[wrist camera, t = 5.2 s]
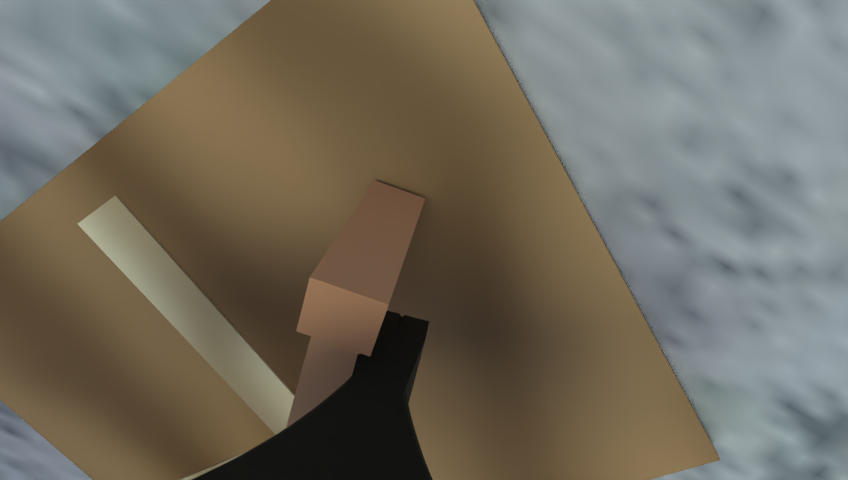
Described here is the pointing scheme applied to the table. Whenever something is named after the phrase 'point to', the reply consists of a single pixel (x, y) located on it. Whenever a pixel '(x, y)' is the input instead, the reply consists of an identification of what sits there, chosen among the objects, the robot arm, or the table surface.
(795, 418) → the table surface
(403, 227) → the fence panel
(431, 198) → the board
